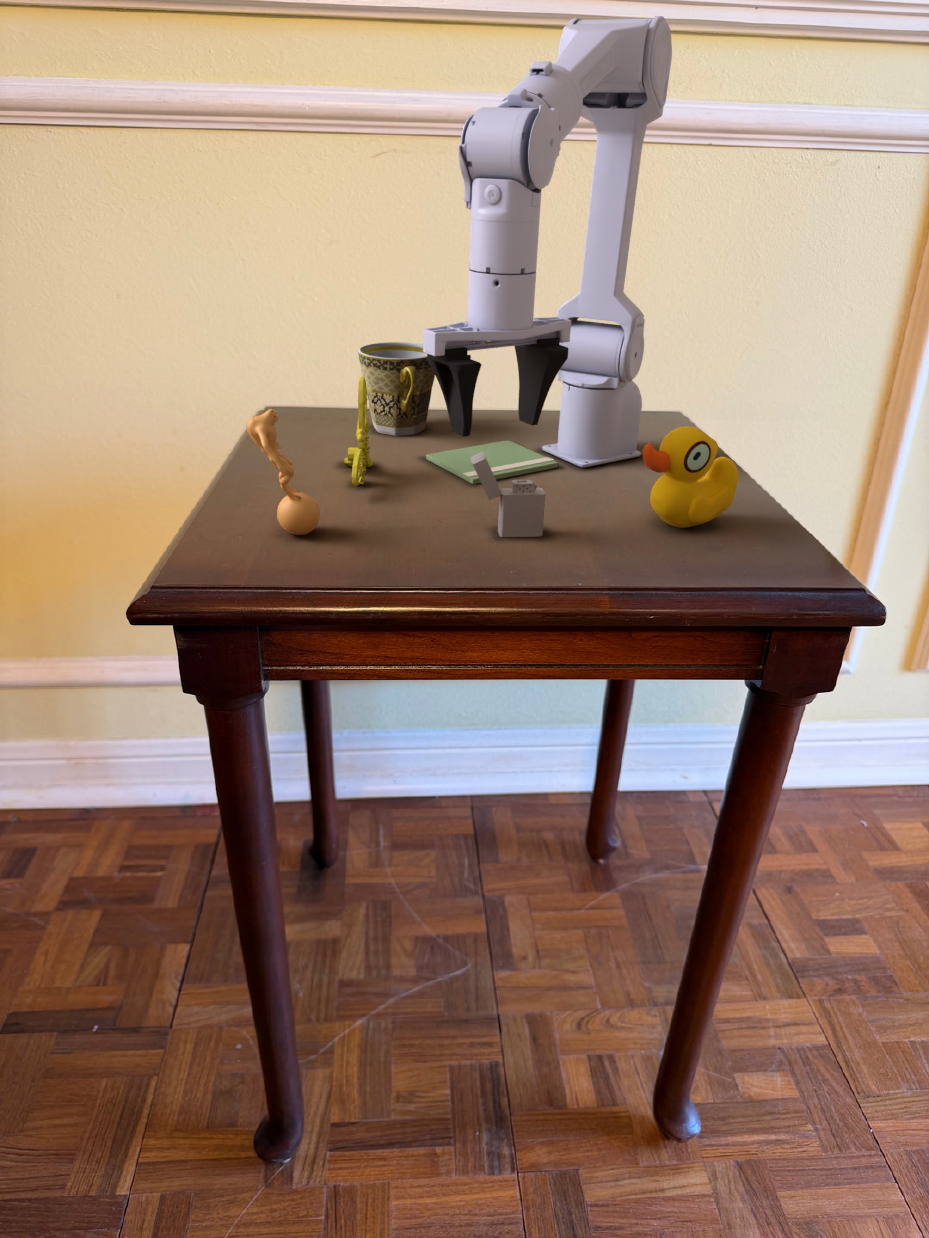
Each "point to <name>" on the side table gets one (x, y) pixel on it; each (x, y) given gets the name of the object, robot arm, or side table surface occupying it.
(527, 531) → the lighter
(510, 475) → the towel
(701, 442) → the duckling
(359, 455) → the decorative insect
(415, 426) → the ceramic cup
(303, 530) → the figurine
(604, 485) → the side table surface
